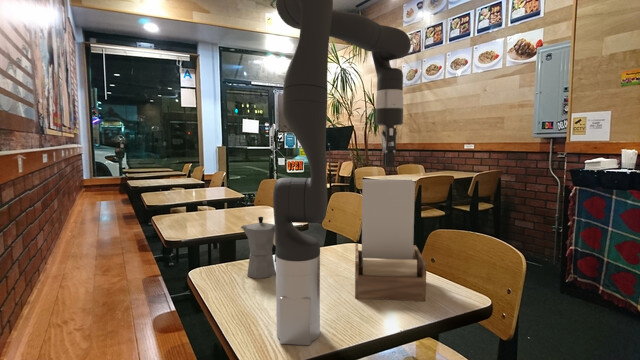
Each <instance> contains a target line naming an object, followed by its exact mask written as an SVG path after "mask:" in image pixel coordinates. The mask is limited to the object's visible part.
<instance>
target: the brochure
mask: <svg viewBox="0 0 640 360" xmlns="http://www.w3.org/2000/svg"><path fill="white" fill-rule="evenodd" d="M415 189H416V181H413V179H387V178H385V179H384V178H383V179H382V178H380V179H377V178H376V179H375V178H374V179H373V178H364V179H363V178H362V192H361V193H362V194H361V195H362V197H361V199H362V201H361V202H362V203H361V206H362V208H361V209H362V211H361V250H362V266H363V258H380V259H412V260H413V245H414V238H415V237H414V233H415V232H414V230H415V229H414V225H415V200H416V199H415V197H416V196H415V195H416V194H415V191H416V190H415Z"/></svg>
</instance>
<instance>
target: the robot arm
mask: <svg viewBox="0 0 640 360" xmlns="http://www.w3.org/2000/svg"><path fill="white" fill-rule="evenodd" d="M275 7H276V12H277V14H278V16H279V17H280V19H281V20H282V22H283V23H285V25H287V26H289V27H291V28H293V29H296V30H299V35H298V37H299V38H298V41H297V44H296V47H295V49H294V53H293V54H292V57H291V59H290V61H289V65H288V67H287V70H286V71H285V72H286V73H285V76H284V80H283V88H282V93H283V94H282V113H283V117H284V120H285V122H286V124H287V126H288V127H289V129H290V131H291V132H292V134H293V135H294V137H295V139H296V140H297V141H298V143H299V145H300V147H301V149H302V151H303V152H304V155H305V157H306V159H307V162H308V166H309V169H310V177H281V178H278V179H277V180H276V182H274V186H273V194H272V201H273V202H272V206H273V221H274V225H275V245H276V246H275V245H274V246H275V252H276V263H275V272H276V274H275V296H276V297H275V299H276V300H275V303H276V306H275V307H276V308H275V309H276V310H275V311H276V314H275V315H276V337H277V338H278V340H279V343H280V344H281V345H300V346H301V345H302V346H310V345H311V344H312V343H313V342H314V341H316V340H317V339H318V338H319V337H320V335H321V243H320V241H319V240H318V239H317V238H315V237H314V236H311V235H309V234H306V233H304V232H302V231H300V230H299V229H298V228H296V227H295V225H294V223H295V224H296V223H297V224H306V223H307V224H319V223H323V222H324V220H325V218H326V216H327V211H328V181H327V179H328V178H327V177H328V176H327V155H326V154H327V150H326V147H327V146H326V145H327V143H326V142H327V121H328V120H327V119H328V118H327V116H328V95H329V94H328V91H329V90H328V70H329V69H328V68H329V67H328V64H329V46H330V45H329V44H330V38H334V39H337V40H341V41H343V42H346V43H349V44H351V45H353V46H355V47H358V48H360V49H362V50H364V51H367V52H371V56H372V59H373V60H372V61H373V65H374V69H375V74H376V80H377V81H376V97H375V125H376V126H381V127H382V126H383V130H382V131H381V134H380V137H381V149H382V165H383V166H385V167H386V168H394V166H395V154H396V150H397V133H398V132H397V128H396V127H395V126H402V125H403V123H404V93H403V92H404V91H403V89H404V73H403V71H402V69H400V68H397V67H392V66H391V63H390V62H391V61H395V60H400V59H403V58H405V57H406V56H407V55H408V54H409V53H410V50H411V46H412V42H411V38H410V37H409V35H408V34H407V33H406V31H404V30H402V29H400V28H397V27H393V26H389V25H384V24H383V25H382V24H380V23H378V22H377V21H374V20H373V19H371V18H369V17H367V16H365V15H362V14H358V13H354V12H347V11H346V12H345V11H339V10H333V9H334V8H333V7H334V0H275ZM293 225H294V226H293Z"/></svg>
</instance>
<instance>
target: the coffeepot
mask: <svg viewBox="0 0 640 360" xmlns="http://www.w3.org/2000/svg"><path fill="white" fill-rule="evenodd" d="M257 220H258V222H256V223H250V224H245V225H241V226H240V229H242V231H243V232H244V233H245V236H246V237H247V241H248V247H249V252H250V253H249V257H248V266H247V277H248V278H252V279H257V280H258V279H260V280H261V279H262V280H263V279H268V278H271V277H273V276H274V275H275V276H276V265H275V262H274V261H275V259H274V255H273V248H274V243H273V241H274V233H275V223H274V224H273V223H268V222H264V221H263V220H264V217H263V216H259V217H257Z"/></svg>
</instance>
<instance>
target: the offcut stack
mask: <svg viewBox="0 0 640 360" xmlns="http://www.w3.org/2000/svg"><path fill="white" fill-rule="evenodd" d="M363 275H372V276H400V277H417V260H412V259H380V258H363Z"/></svg>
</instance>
